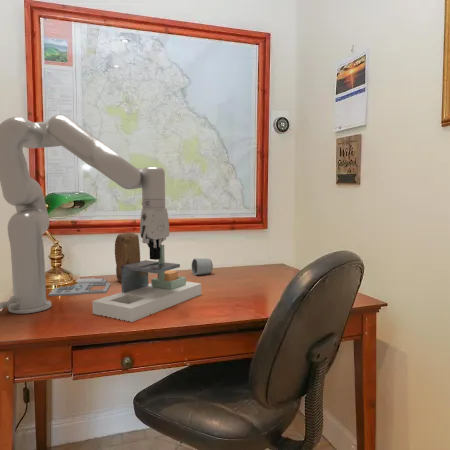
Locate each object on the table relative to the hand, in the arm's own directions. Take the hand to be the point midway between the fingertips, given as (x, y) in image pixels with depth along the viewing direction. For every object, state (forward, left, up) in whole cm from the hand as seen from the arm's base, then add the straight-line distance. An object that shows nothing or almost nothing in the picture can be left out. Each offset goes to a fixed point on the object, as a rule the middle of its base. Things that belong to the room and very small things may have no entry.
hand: (154, 259), depth 138 cm
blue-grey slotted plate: (+2, +38, -15) cm, 41 cm away
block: (+18, +30, -15) cm, 38 cm away
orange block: (+7, 0, -11) cm, 13 cm away
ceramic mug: (+46, +13, -15) cm, 50 cm away
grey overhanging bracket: (-2, 0, -11) cm, 11 cm away
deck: (-2, 0, -15) cm, 15 cm away
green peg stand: (+7, 0, -11) cm, 13 cm away
